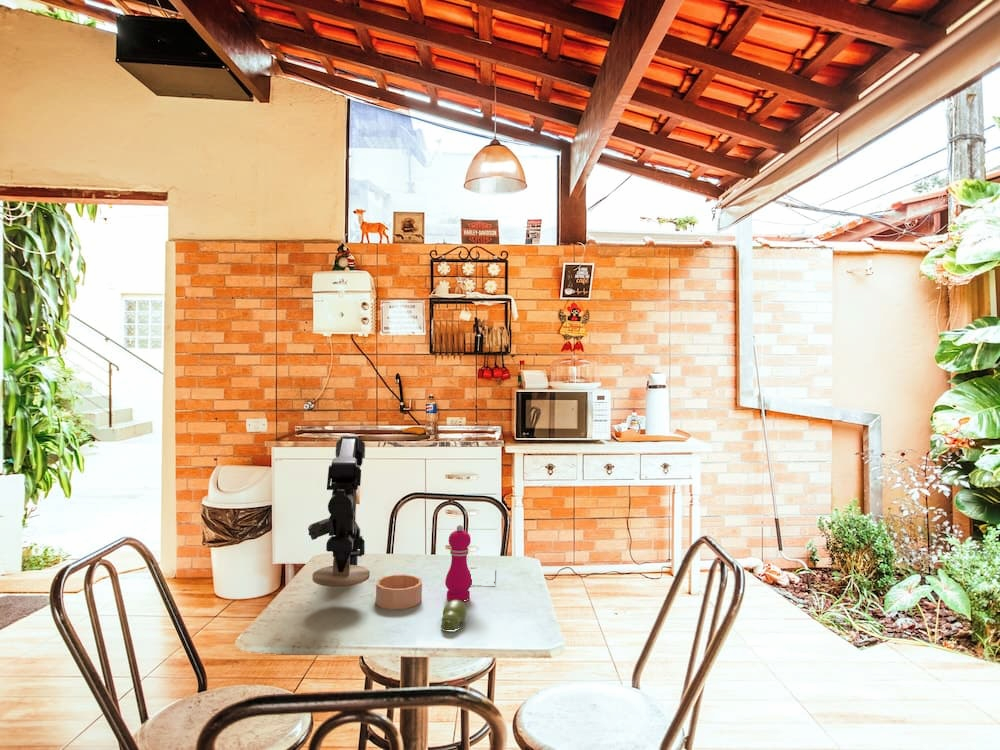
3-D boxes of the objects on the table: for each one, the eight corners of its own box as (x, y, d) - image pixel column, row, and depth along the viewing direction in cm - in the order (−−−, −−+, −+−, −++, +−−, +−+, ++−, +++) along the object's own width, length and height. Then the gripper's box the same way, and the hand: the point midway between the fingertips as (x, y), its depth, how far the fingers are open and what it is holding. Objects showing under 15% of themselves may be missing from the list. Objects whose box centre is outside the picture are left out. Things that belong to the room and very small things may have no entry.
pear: (469, 596, 150) (459, 618, 141) (469, 616, 151) (459, 639, 141) (447, 594, 151) (436, 616, 142) (447, 614, 152) (436, 637, 142)
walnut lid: (315, 569, 163) (316, 550, 163) (370, 567, 165) (370, 549, 165) (309, 587, 148) (309, 567, 148) (368, 585, 151) (369, 565, 151)
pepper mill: (439, 599, 163) (441, 525, 163) (453, 591, 169) (455, 520, 169) (462, 605, 159) (464, 529, 160) (476, 596, 166) (478, 523, 166)
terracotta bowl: (376, 593, 166) (377, 575, 166) (420, 591, 168) (420, 573, 168) (375, 610, 155) (375, 590, 155) (422, 608, 157) (422, 588, 157)
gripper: (315, 502, 165) (313, 559, 165) (305, 518, 146) (304, 582, 146) (357, 501, 167) (355, 558, 167) (352, 517, 148) (351, 580, 148)
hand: (341, 569), depth 157 cm, fingers closed on walnut lid, 4 cm apart
